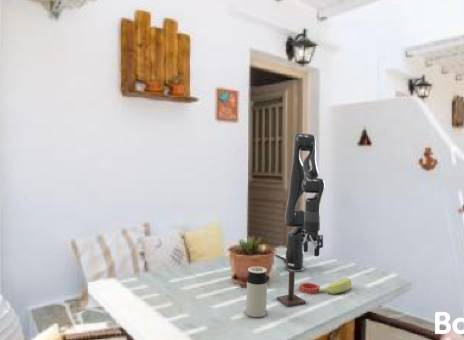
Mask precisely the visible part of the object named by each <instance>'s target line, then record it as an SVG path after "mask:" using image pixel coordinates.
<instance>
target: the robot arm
mask: <svg viewBox="0 0 464 340" xmlns="http://www.w3.org/2000/svg"><path fill="white" fill-rule="evenodd" d="M316 140H317V139H316V137H315V135H314V134H312V133H300V132H297V133H296V134H295V135H294V137H293V144H292V145H293V147H292V164H291V171H290V178H289V189H288V198H287V203H286V208H285V213H284V223H285V225H286V227H289V228H294V229H293V230H291V231H289V232H288V233H287V234H286V235H287V236H286V251H285V257H283V256H281V255H278V254H276V256H275V257H277V258H279V259H281V260H283V261H284V263H285V269H286V270H287V271H288V272H289V271H294V272H295V273H296V272H297V273H298V272H302V271H304V253H307V252H308V251H309V242H310V243H311V244H312V245H313V247H314V249H313V253H314V254H313V256H314V257H319V256H320V249H322V248H323V247H324V235H323V234H319V231H320V230H321V203H322V197H323V194H324V191H325V187H326V184H325V183H326V182H325V181H324V179H323V178H321V177H319V169H318V164H317V141H316ZM300 152H309V153H308V155H306V157H305V159H304V160H303V161H302V159H301V153H300ZM304 193H306V194H315V195H314V196H312V197H308V198H306V199H305V201H304V210H303V209H296V208H297V204H298V202H299V200H300V199H301V197H302V196H303V194H304Z"/></svg>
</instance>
